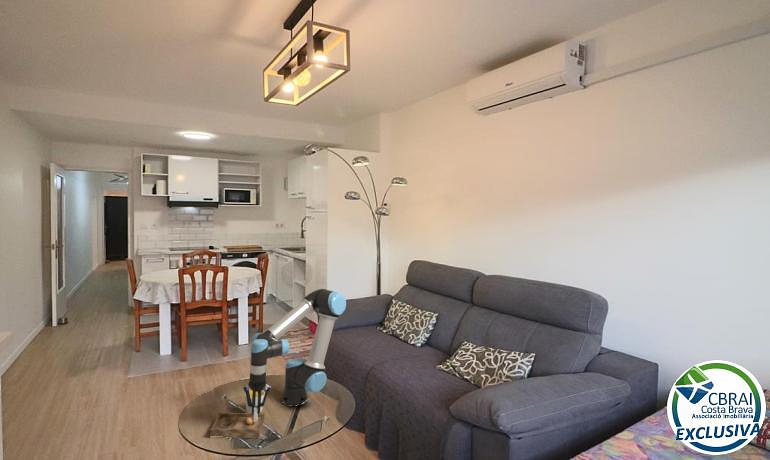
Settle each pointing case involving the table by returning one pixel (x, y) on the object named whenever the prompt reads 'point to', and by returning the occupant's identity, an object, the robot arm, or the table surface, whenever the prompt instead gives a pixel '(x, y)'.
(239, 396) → the table surface
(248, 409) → the mug
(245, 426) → the board
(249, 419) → the ball
